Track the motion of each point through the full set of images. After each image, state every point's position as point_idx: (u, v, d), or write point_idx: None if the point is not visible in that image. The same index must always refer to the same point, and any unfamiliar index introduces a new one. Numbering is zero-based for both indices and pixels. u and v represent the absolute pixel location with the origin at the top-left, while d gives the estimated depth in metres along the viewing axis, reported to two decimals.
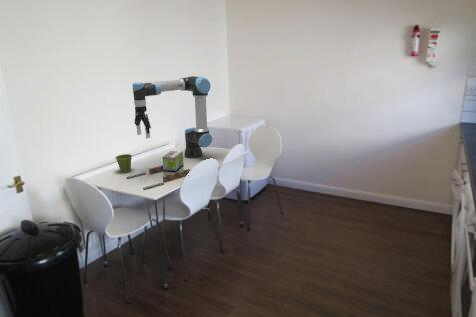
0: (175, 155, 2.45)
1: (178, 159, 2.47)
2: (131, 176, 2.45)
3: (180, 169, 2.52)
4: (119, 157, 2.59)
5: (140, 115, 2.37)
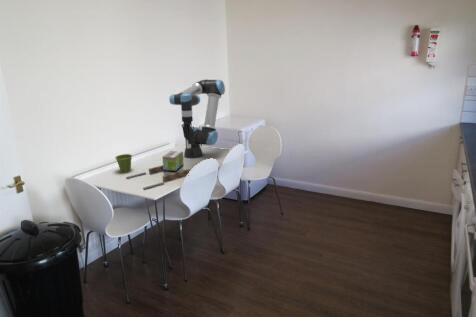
0: (175, 155, 2.45)
1: (178, 159, 2.47)
2: (131, 176, 2.45)
3: (180, 169, 2.52)
4: (119, 157, 2.59)
5: (187, 125, 2.49)
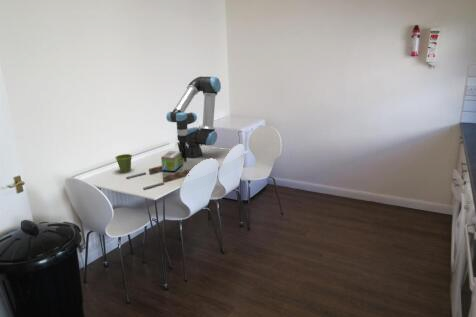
0: (174, 155, 2.44)
1: (177, 159, 2.47)
2: (131, 176, 2.45)
3: (179, 169, 2.52)
4: (119, 157, 2.59)
5: (182, 144, 2.50)
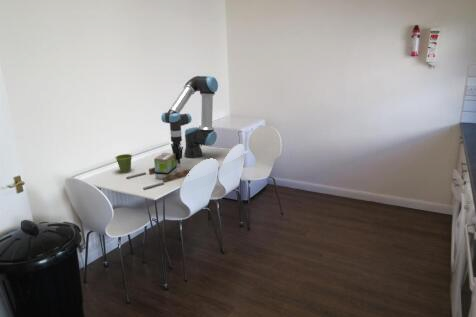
0: (167, 157, 2.41)
1: (171, 161, 2.43)
2: (131, 176, 2.45)
3: (173, 171, 2.48)
4: (119, 157, 2.59)
5: (176, 145, 2.47)
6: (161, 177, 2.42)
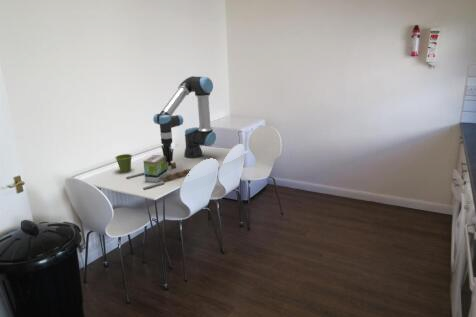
0: (157, 159, 2.36)
1: (161, 163, 2.38)
2: (131, 176, 2.45)
3: (163, 174, 2.43)
4: (119, 157, 2.59)
5: (166, 147, 2.42)
6: (150, 180, 2.37)
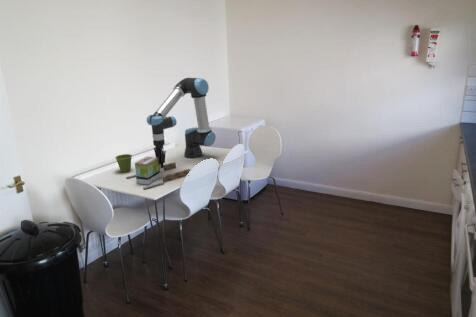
0: (148, 161, 2.32)
1: (152, 165, 2.34)
2: (131, 176, 2.45)
3: (155, 176, 2.39)
4: (119, 157, 2.59)
5: (158, 149, 2.38)
6: (142, 182, 2.33)
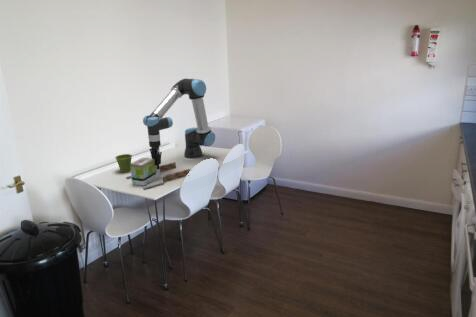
0: (144, 163, 2.30)
1: (148, 167, 2.32)
2: None
3: (151, 178, 2.37)
4: (119, 157, 2.59)
5: (154, 150, 2.36)
6: (137, 183, 2.32)
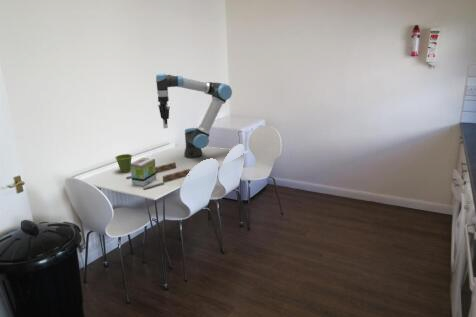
0: (144, 163, 2.30)
1: (148, 167, 2.32)
2: None
3: (151, 178, 2.37)
4: (119, 157, 2.59)
5: (163, 105, 2.53)
6: (137, 183, 2.32)
